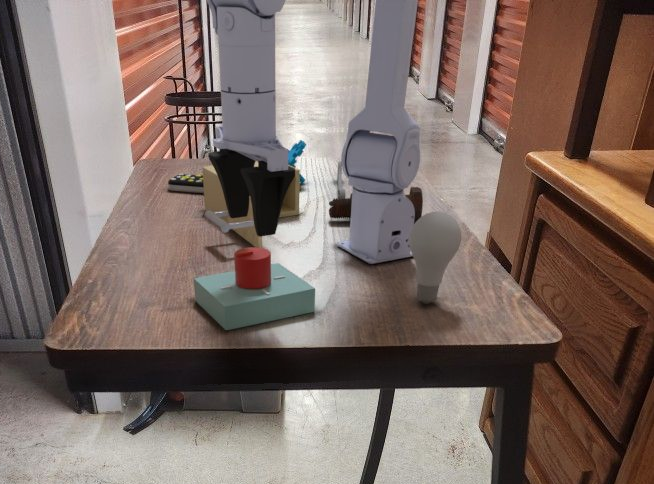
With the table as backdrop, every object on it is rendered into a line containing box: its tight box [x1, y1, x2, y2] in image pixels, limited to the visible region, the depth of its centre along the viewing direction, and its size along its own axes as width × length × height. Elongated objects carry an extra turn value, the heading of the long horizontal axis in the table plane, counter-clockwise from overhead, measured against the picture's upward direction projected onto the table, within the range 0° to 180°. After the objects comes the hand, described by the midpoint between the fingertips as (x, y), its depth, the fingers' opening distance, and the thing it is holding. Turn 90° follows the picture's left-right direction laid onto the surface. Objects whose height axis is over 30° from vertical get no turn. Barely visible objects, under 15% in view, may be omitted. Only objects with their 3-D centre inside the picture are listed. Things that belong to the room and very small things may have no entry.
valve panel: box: [193, 262, 316, 331], centre depth 82 cm, size 10×12×3 cm
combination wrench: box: [336, 160, 347, 199], centre depth 124 cm, size 4×1×20 cm
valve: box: [233, 246, 272, 289], centre depth 80 cm, size 4×4×4 cm
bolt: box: [328, 186, 424, 224], centre depth 109 cm, size 6×5×15 cm
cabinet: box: [202, 161, 301, 222], centre depth 113 cm, size 10×14×7 cm
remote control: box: [167, 173, 204, 194], centre depth 126 cm, size 6×13×2 cm, turn 73°
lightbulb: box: [409, 210, 462, 304], centre depth 81 cm, size 6×6×11 cm
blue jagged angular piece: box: [288, 139, 307, 189], centre depth 128 cm, size 11×6×10 cm
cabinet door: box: [204, 199, 263, 248], centre depth 101 cm, size 6×13×7 cm, turn 25°
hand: (251, 225), depth 77 cm, fingers open, 7 cm apart
